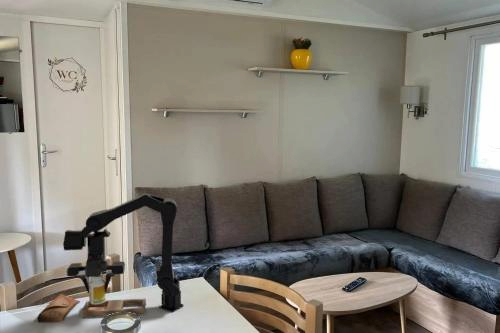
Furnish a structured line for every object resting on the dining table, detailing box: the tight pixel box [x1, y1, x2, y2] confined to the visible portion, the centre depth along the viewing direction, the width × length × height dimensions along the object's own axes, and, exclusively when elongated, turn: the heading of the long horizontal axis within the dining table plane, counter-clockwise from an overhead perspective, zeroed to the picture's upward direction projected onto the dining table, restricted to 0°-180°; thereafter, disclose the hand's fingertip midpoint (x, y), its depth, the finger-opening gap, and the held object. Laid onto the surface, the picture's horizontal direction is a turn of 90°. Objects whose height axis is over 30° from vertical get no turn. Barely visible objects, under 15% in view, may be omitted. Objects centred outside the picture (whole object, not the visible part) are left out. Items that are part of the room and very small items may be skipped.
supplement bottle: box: [88, 273, 106, 305], centre depth 155 cm, size 5×5×10 cm
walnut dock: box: [80, 298, 147, 318], centre depth 156 cm, size 21×9×2 cm, turn 100°
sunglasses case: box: [37, 292, 81, 324], centre depth 155 cm, size 18×7×7 cm, turn 3°
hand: (97, 292), depth 155 cm, fingers closed on supplement bottle, 5 cm apart
